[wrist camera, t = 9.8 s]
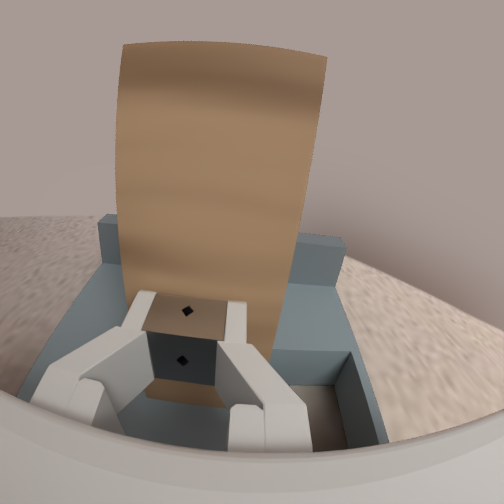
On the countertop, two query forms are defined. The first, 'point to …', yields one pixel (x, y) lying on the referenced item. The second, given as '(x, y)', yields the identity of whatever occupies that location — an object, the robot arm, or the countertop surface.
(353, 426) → the deck
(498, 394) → the countertop surface
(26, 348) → the countertop surface
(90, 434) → the robot arm
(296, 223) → the block
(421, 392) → the countertop surface
